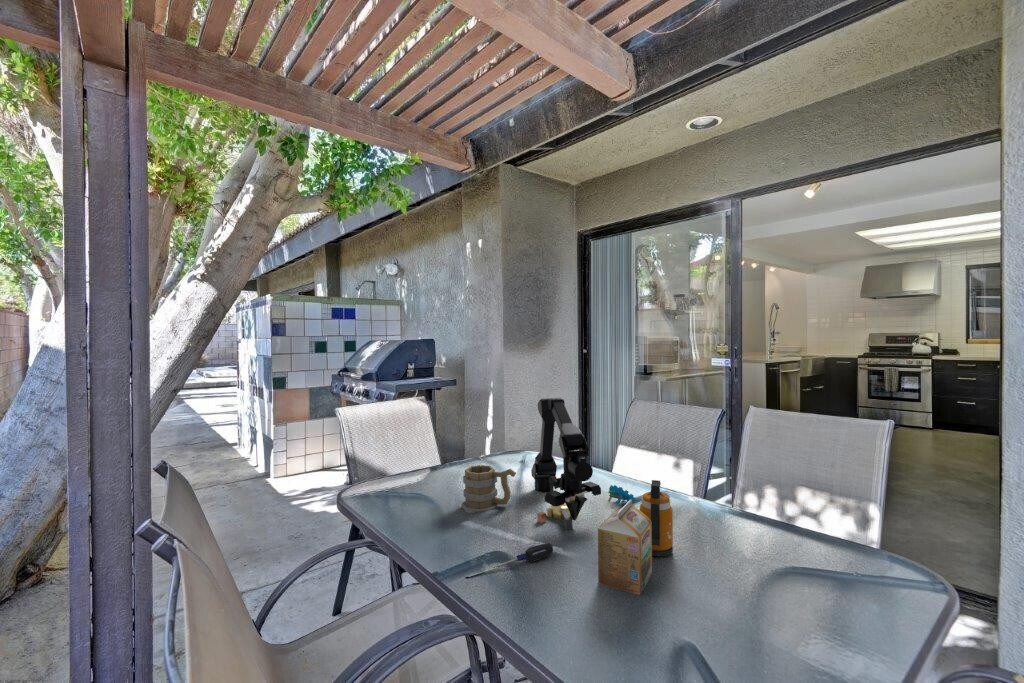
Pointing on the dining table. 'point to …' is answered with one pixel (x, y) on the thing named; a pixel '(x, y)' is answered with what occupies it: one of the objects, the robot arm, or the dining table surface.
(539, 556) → the screwdriver
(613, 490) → the blue branched piece
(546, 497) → the robot arm
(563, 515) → the gold lugged knob
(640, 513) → the milk carton
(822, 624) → the dining table surface
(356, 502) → the dining table surface
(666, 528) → the canister
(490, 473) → the tankard
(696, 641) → the dining table surface
